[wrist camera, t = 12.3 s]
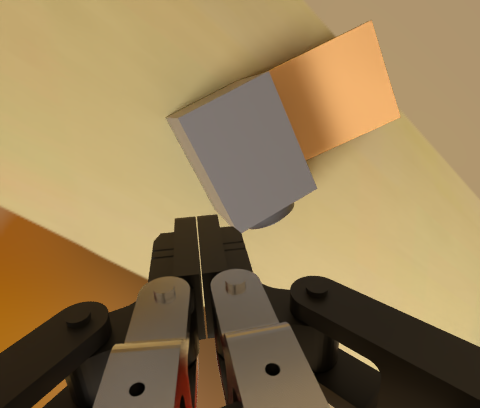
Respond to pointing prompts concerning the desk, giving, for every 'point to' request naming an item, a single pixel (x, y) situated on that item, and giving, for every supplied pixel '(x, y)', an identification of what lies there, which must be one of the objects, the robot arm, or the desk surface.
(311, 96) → the side door
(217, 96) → the camera housing
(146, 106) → the desk surface
